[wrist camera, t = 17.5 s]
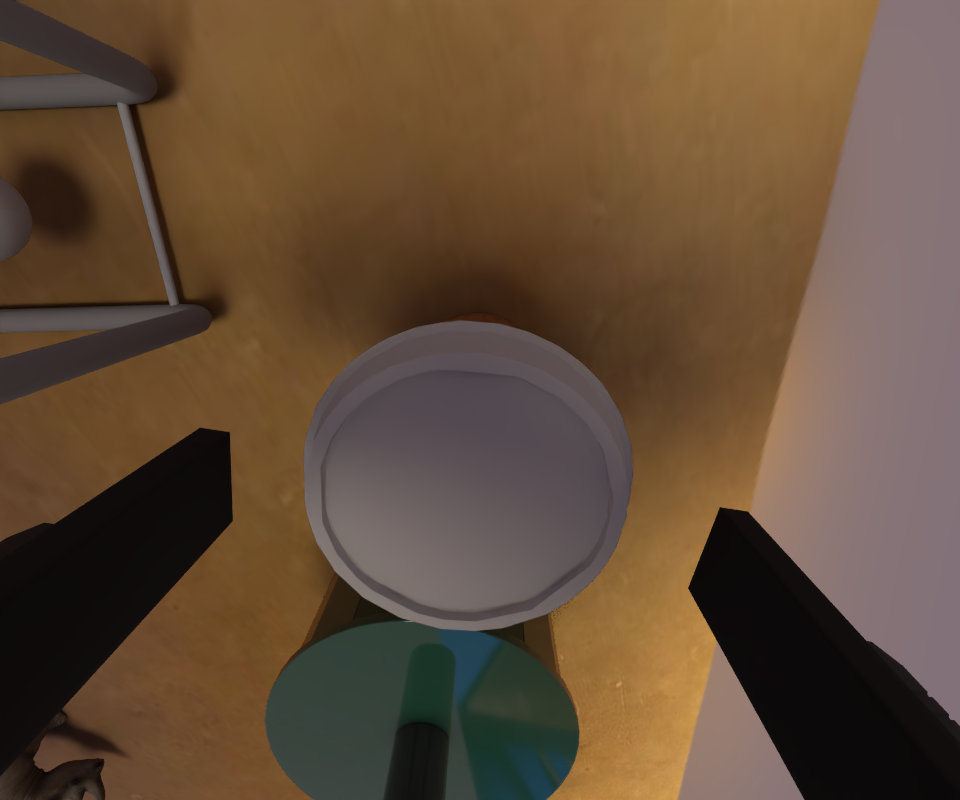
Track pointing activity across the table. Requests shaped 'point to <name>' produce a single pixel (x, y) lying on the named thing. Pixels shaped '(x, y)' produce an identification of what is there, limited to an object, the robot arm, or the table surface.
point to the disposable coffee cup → (467, 474)
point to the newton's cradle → (8, 223)
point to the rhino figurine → (51, 775)
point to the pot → (350, 605)
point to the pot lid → (421, 715)
